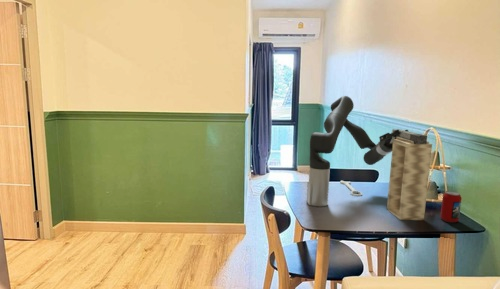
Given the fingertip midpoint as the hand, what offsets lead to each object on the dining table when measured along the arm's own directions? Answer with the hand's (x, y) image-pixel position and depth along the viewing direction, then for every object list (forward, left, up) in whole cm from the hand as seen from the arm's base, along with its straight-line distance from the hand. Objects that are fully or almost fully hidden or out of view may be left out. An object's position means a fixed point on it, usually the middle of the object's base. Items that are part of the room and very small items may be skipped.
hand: (402, 131), depth 156 cm
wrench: (-10, +31, -36) cm, 49 cm away
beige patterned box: (0, -9, -35) cm, 36 cm away
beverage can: (+16, -15, -35) cm, 42 cm away
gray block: (0, -5, -3) cm, 6 cm away
